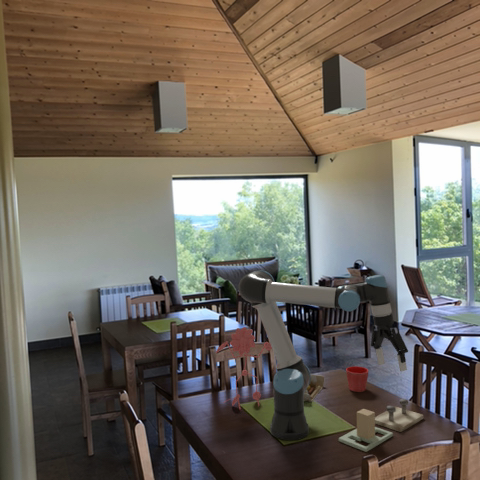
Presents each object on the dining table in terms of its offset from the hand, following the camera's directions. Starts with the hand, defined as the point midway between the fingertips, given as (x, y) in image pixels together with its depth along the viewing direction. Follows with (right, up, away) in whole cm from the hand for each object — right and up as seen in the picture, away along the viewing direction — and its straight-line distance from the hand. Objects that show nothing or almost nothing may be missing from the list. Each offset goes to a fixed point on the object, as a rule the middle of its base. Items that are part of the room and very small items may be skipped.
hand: (392, 367), depth 194 cm
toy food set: (-31, -24, +43) cm, 59 cm away
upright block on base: (-12, -25, -7) cm, 29 cm away
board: (+5, -24, +8) cm, 26 cm away
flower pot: (-3, -22, +45) cm, 50 cm away
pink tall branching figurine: (-58, -25, +31) cm, 70 cm away
